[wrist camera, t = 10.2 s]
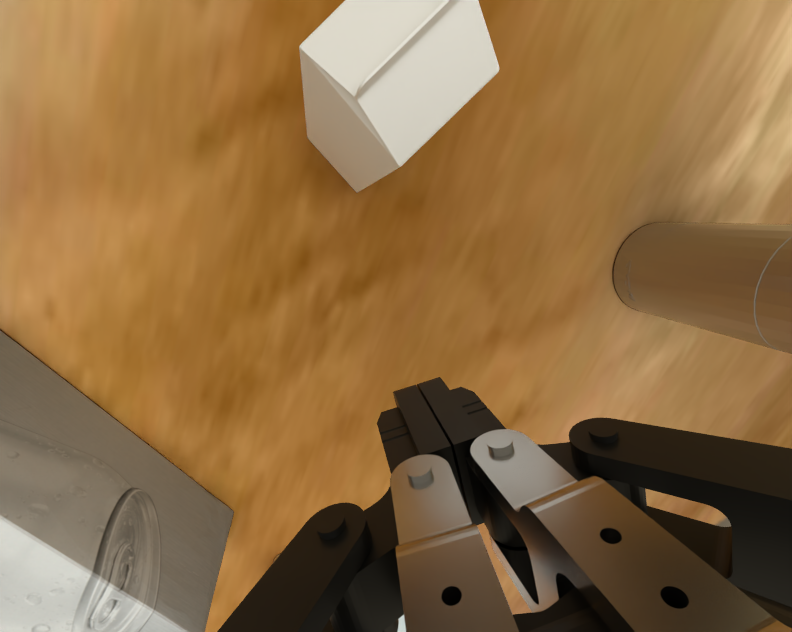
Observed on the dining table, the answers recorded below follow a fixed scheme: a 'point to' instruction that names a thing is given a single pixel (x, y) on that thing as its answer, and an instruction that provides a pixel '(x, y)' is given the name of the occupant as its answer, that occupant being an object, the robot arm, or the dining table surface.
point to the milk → (390, 79)
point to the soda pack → (95, 517)
